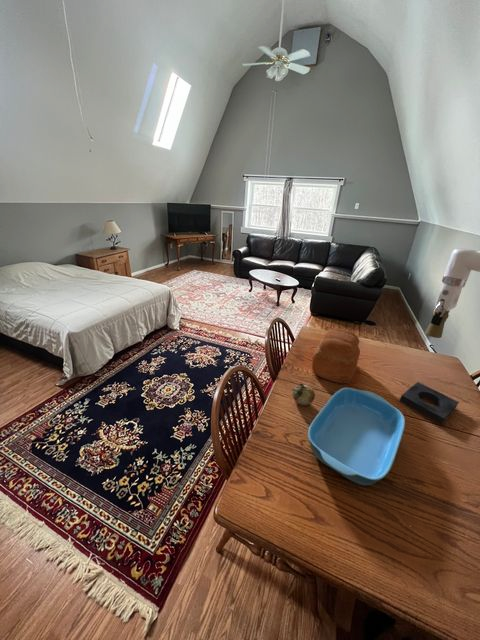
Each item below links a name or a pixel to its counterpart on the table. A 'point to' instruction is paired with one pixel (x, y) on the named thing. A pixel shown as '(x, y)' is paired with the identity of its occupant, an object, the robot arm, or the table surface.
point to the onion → (303, 394)
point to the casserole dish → (357, 435)
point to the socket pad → (433, 412)
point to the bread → (336, 356)
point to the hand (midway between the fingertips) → (438, 322)
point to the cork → (437, 327)
